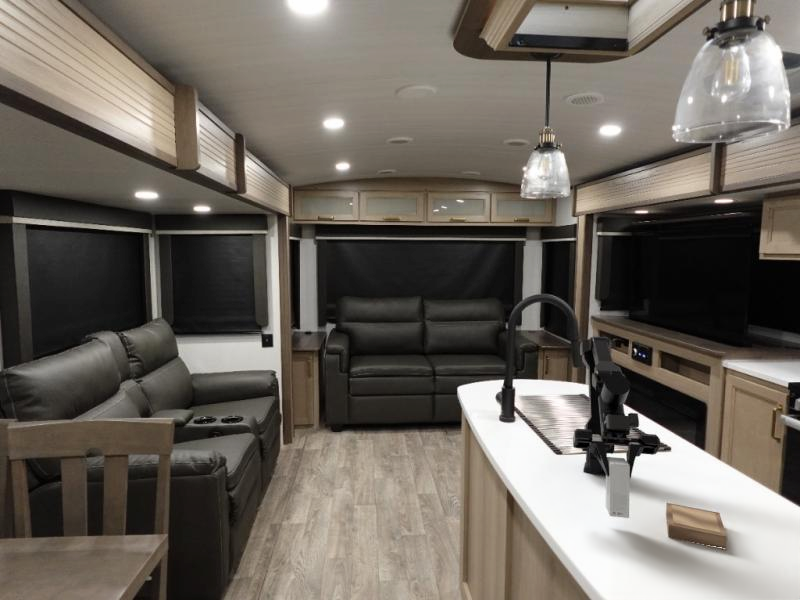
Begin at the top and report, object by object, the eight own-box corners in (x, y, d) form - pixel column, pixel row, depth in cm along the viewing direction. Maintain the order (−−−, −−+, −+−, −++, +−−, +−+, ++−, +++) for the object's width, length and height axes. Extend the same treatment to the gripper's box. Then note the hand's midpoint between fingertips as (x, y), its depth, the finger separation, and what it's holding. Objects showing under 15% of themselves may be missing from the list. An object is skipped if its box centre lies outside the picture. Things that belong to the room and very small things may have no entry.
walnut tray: (665, 514, 121) (666, 502, 121) (718, 524, 116) (719, 512, 116) (668, 537, 111) (669, 524, 111) (726, 549, 106) (726, 536, 106)
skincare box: (630, 519, 111) (630, 465, 111) (609, 516, 112) (610, 463, 112) (624, 508, 116) (624, 457, 117) (605, 506, 117) (605, 456, 118)
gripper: (575, 396, 118) (579, 459, 109) (660, 401, 114) (672, 467, 104) (571, 417, 127) (574, 477, 117) (650, 422, 122) (660, 485, 113)
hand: (618, 476), depth 113 cm, fingers closed on skincare box, 4 cm apart
